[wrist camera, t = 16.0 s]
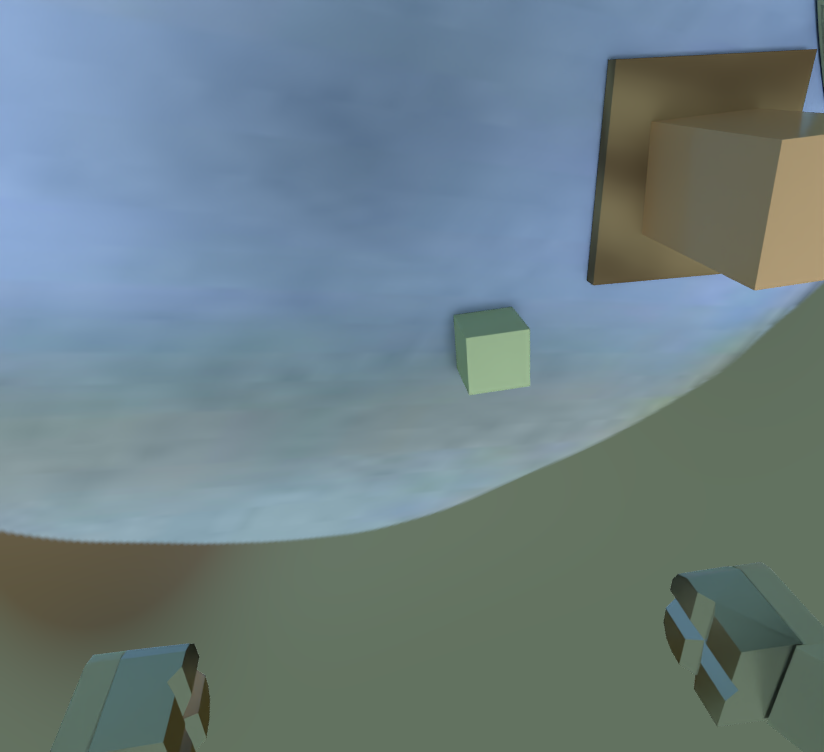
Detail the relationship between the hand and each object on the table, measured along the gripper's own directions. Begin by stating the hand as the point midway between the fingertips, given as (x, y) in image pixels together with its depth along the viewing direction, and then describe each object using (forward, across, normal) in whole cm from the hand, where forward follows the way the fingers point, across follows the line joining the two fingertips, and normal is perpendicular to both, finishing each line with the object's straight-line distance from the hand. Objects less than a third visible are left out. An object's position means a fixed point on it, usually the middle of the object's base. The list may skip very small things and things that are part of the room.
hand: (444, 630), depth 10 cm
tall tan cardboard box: (+28, -21, -2) cm, 35 cm away
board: (+29, -21, -2) cm, 36 cm away
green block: (+29, -8, +8) cm, 31 cm away
